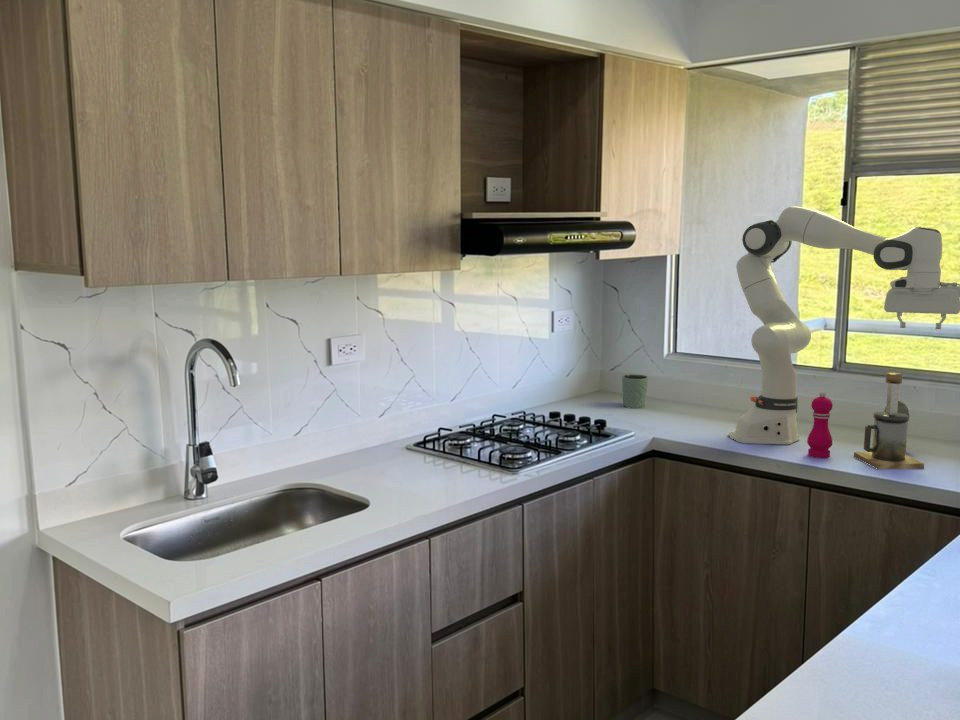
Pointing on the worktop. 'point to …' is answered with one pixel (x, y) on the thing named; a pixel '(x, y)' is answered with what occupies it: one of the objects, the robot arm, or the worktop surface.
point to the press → (887, 436)
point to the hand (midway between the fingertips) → (920, 328)
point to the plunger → (893, 392)
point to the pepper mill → (820, 428)
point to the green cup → (634, 390)
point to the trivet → (889, 462)
